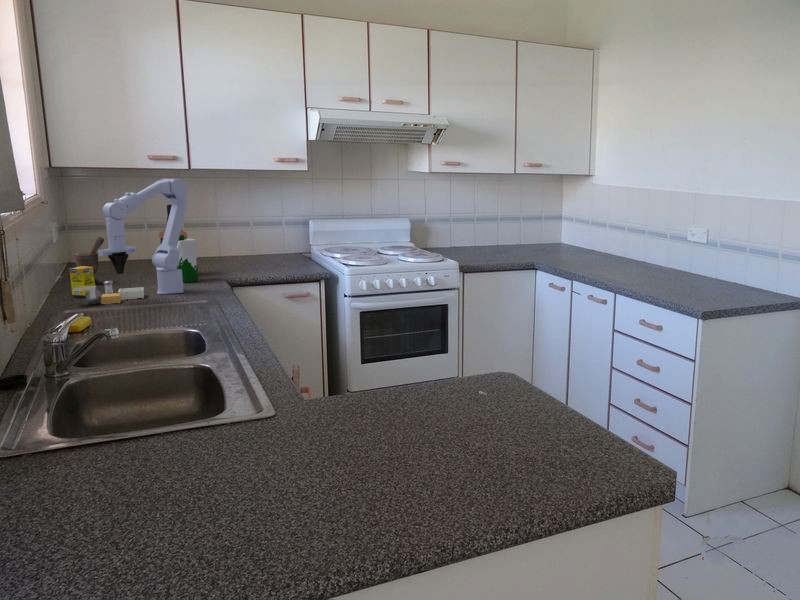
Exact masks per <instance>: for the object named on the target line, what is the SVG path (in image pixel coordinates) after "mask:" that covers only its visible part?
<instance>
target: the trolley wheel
mask: <svg viewBox="0 0 800 600" xmlns="http://www.w3.org/2000/svg"><path fill="white" fill-rule="evenodd" d="M83 290H89V292H88V293H87V294H86V297H85V301H86V303H88V304H90V305H92V304H95V305H97V304H99V303H100V302H101V296H102V295H103V294H102V293H101V292H100V291H99V290H97V285H95V286H80V287H75V288H74V291H83Z"/></svg>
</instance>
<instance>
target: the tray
mask: <svg viewBox="0 0 800 600" xmlns="http://www.w3.org/2000/svg"><path fill="white" fill-rule="evenodd" d="M144 290H145V289H144V286H142V287H141V286H140V287H127V288H126V287H125V288H119V289H118V291H117V294H118V293H120V295H121V301H123V300H124V301H126V300H127V299H128V300H138V299H137V298H142V299H144V298H145V291H144ZM128 300H127V301H128Z"/></svg>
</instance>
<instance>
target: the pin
mask: <svg viewBox="0 0 800 600" xmlns="http://www.w3.org/2000/svg"><path fill="white" fill-rule="evenodd" d="M102 283H103V285H104V292H105V293H104V294H113V293H114V288H113V283H114V282H113V280H105V281H103V282H102Z"/></svg>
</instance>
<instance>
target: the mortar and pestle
mask: <svg viewBox="0 0 800 600" xmlns="http://www.w3.org/2000/svg"><path fill="white" fill-rule="evenodd" d="M104 242H105V238H104V237H101V236H98V237H97V238H96V239H95V241H94V244H93V246H92V247H91V250H90V251H88V252H82V251H81V252H77V253H75V254H74V257H75V258H74V259H75V265H76V266H75V267H80V266H85V267H93V271H94V281H95V285H99V284H100V282H99V281H100V280H98V278H96V277H95V274H96V273H97V272H98V270H99V256H98V250H100V248H101V247H102V246H103V243H104Z"/></svg>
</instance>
